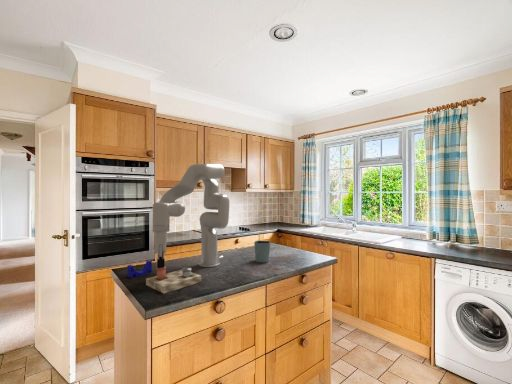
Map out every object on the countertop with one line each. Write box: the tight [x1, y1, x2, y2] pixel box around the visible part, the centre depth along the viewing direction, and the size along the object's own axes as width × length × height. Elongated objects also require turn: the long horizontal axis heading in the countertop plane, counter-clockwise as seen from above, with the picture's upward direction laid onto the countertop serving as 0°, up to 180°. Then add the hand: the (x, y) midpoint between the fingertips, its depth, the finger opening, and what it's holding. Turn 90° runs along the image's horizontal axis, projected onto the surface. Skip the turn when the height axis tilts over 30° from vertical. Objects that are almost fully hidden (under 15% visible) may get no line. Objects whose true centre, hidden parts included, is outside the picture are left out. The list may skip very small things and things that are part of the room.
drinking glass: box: [253, 240, 271, 264], centre depth 171 cm, size 10×10×12 cm
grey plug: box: [181, 266, 192, 278], centre depth 131 cm, size 5×5×6 cm
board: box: [145, 269, 202, 294], centre depth 130 cm, size 20×16×3 cm
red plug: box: [155, 265, 167, 281], centre depth 128 cm, size 5×5×6 cm
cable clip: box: [126, 260, 153, 279], centre depth 143 cm, size 12×4×6 cm, turn 143°
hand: (160, 267), depth 128 cm, fingers closed
